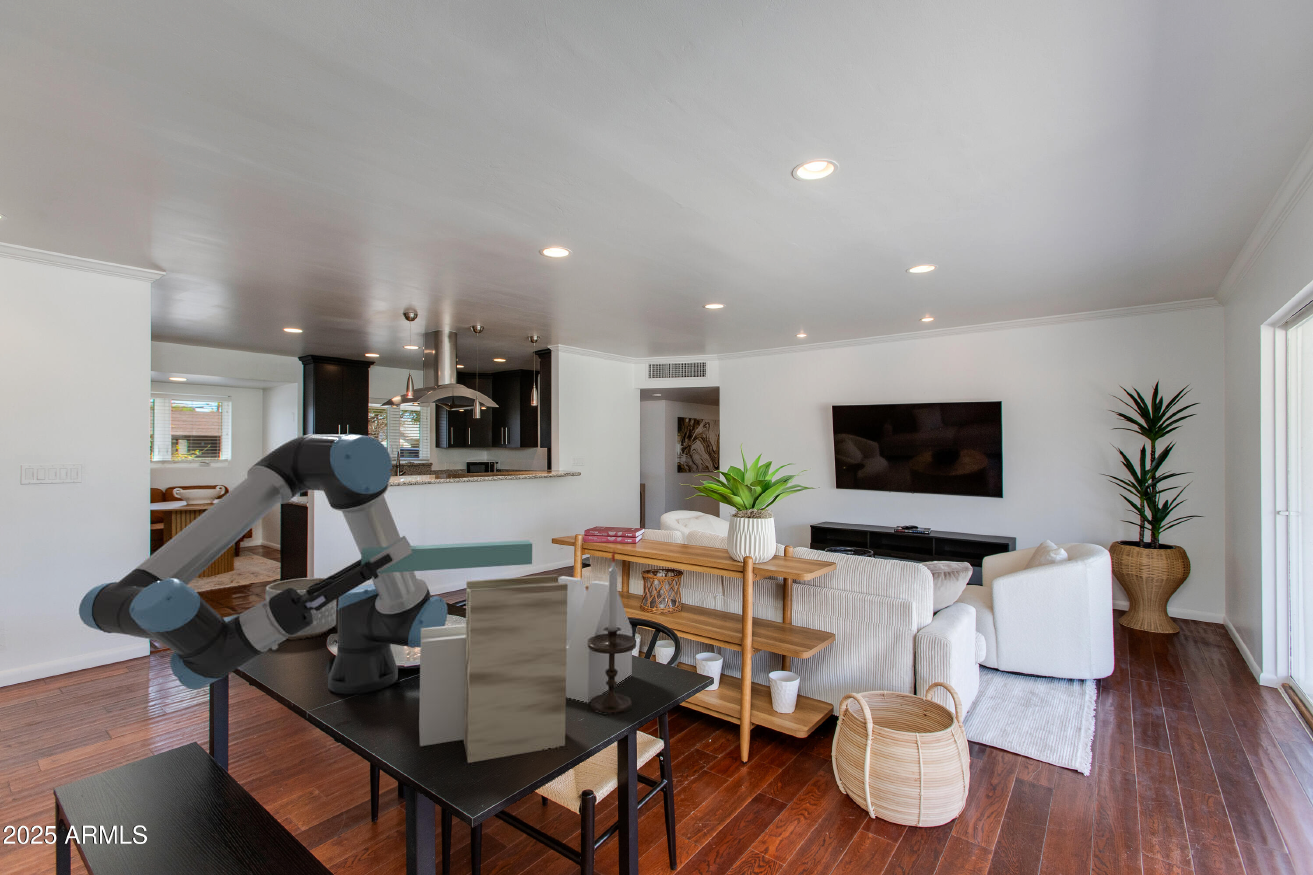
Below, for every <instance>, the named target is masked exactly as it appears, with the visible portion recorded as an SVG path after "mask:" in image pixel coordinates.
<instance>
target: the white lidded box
mask: <svg viewBox="0 0 1313 875" xmlns="http://www.w3.org/2000/svg"><path fill="white" fill-rule="evenodd" d="M465 642H466V623H463V624H455V625H454V624H453V625H445V626H442V627H431V628H421V648H420V658H419V659H420V660H419V661H420V662H419V663H420V664H419V666H420V667H419V706H418V707H419V710H418V711H419V713H418V714H419V717H418V719H419V720H418V729H419V730H418V731H419V747H424V746H431V745H436V744H442V743H443V744H444V743H449V742H455V741H456V742H457V741H462V740H463V741H464V698H465Z"/></svg>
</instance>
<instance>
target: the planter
mask: <svg viewBox="0 0 1313 875" xmlns="http://www.w3.org/2000/svg"><path fill="white" fill-rule="evenodd" d="M325 578H326V577H303V578H301V577H300V578H292V579H288V580H287V579H286V580H282V581H281V580H280V581H277V582H276V581H275V582H273V583H271V584H268V585H267V586H266V587H265V601H268V602H269V600H270V598H271V597H273V596H274V595H276V594H278V593H280V592H281V591H283V590H285V589H287V588H293V589H295V590H296V591H297V592H298V593H299V594H300V595H303V594H305V593H306V590H308V587H309V586H311V585H313V584H314V583H316V582H319V581H322V580H324V579H325ZM311 613H312V617H313V622H312V624H311V625H310V626H308V627H306V628H305V629H303V630H301V631H300V632H298V633H296V634H295V635H288V638H287V639H290V640H297V639H296V638H302V639H306V638H305V637H309V638H312V637H311V636H313V637H317V636H320V635H323V634H325V633H327V632H328V631H329V630H330V629H332V628H333V627H335V626H336V624H337V599H336V600H334V601H332V602H330V603H329V604H327V605H326V606H325V607H323V608H321V610H319V611H315V610H314V609H313V610H311ZM324 632H325V633H324ZM322 633H323V634H322ZM319 634H320V635H319ZM316 635H317V636H316Z"/></svg>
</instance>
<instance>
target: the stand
mask: <svg viewBox="0 0 1313 875" xmlns="http://www.w3.org/2000/svg"><path fill="white" fill-rule="evenodd" d="M558 578H559V575H558V574H552V575H551V574H550V575H537V576H536V575H535V576H521V577H506V578H491V579H477V580H476V579H475V580H467V581H466V588H465V589H466V592H465V593H466V596H465V604H466V605H465V609H466V610H465V624H466V642H465V698H464V739H463V744H464V748H465V754H466V755H465V756H466V759H467V763H468V764H469V763H474V762H482V761H487V760H492V759H493V760H494V759H498V758H504V757H505V758H506V757H509V756H510V757H511V756H514V755H515V756H517V755H522V754H527V753H532V752H538V751H544V750H549V749H548V748H551V749H557V748H560V747H559V746H563V747H565V746H566V713H567V712H566V702H567V700H566V699H567V698H566V651H567V590H568V584H567V583H563V584H560V583H559V582H558ZM564 745H565V746H564ZM556 747H557V748H556ZM543 749H544V750H543Z"/></svg>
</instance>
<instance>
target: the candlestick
mask: <svg viewBox="0 0 1313 875" xmlns="http://www.w3.org/2000/svg"><path fill="white" fill-rule="evenodd" d="M611 562H612V563H611V568H609V569H608V583H609V605H608V627H606V628H604V629H603V630H604V631H607V632H608V634H601V635H597V636H595V637H591V638H590V639H589V640H588V648H589V649H590V650H592V651H594V652H598V653H605V654H609V668H608V669H607V670H606V671H605V673H606V675H607V677H608V681H606V685H608V691H607V693H604V694H602V695H598V696H596V697H594V698H593V699H592V700H591V702H590V708H591V710H592V709H593V710H592V711H594V710H595V711H598V712H601V713H607V714H606V715H616V714H615V713H620V714H622V713H625V712H624V711H626V710H628V709H629V708H630V707H632V699H631V698H630V697H628V696H627V695H625V694H621V693H615V687H614V685H616V684H617V681H615V676H617V673H618V670H617V669H615V654H618V653H625V652H629V651H631V650H632V651H633V650H635V649H636V648H637V638H635V637H634V636H633V635H632V636H629V635H625V634H617V632H618V631H620V630H621V628H619V627H616V626H617V591H618V568H617V567H616V565H615V562H616V551H615V549H613V553H612V554H611ZM616 686H617V685H616ZM630 709H631V708H630ZM630 709H629V710H630ZM629 710H628V711H629ZM595 711H594V712H595ZM598 712H597V713H598ZM626 712H627V711H626ZM601 713H600V714H601ZM609 713H610V714H609Z"/></svg>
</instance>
